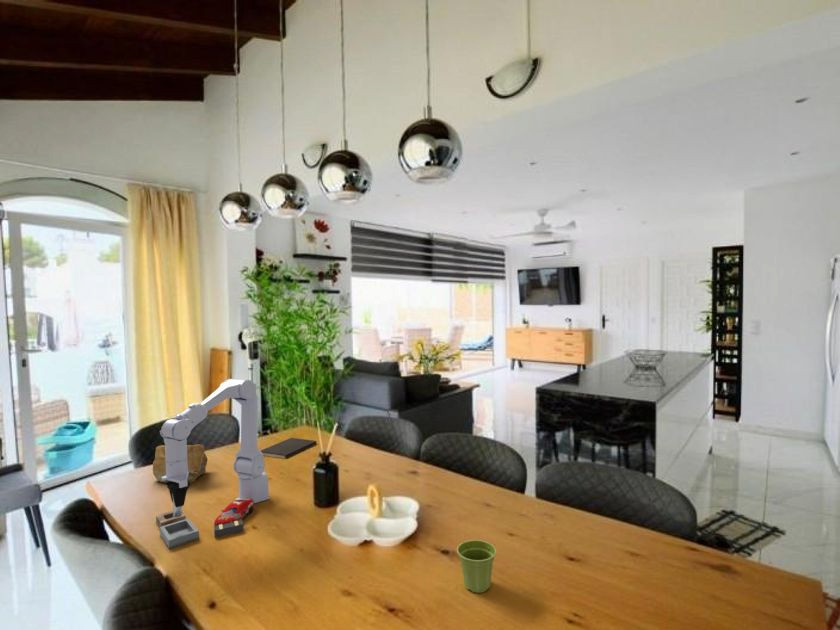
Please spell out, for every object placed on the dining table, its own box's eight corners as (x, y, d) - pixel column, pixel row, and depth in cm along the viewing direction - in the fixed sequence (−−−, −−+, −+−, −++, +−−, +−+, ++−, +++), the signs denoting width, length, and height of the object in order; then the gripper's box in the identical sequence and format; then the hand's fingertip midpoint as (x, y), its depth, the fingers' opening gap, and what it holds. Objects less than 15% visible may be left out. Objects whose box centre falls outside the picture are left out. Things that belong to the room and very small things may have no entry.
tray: (188, 526, 141) (188, 518, 141) (199, 539, 133) (198, 530, 133) (160, 535, 136) (159, 527, 136) (169, 549, 128) (168, 540, 128)
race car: (229, 532, 137) (228, 517, 137) (209, 531, 138) (209, 515, 138) (258, 508, 153) (257, 494, 153) (240, 507, 154) (239, 493, 154)
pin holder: (179, 515, 149) (179, 508, 149) (185, 522, 144) (185, 515, 144) (156, 522, 145) (155, 515, 145) (161, 529, 139) (160, 523, 139)
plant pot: (454, 575, 112) (454, 540, 112) (491, 572, 113) (490, 538, 113) (461, 599, 103) (460, 562, 103) (501, 596, 103) (500, 559, 103)
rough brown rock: (225, 475, 187) (225, 438, 188) (194, 487, 171) (194, 447, 173) (182, 472, 194) (182, 437, 196) (148, 483, 179) (148, 445, 180)
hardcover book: (258, 456, 210) (258, 451, 210) (291, 442, 231) (291, 437, 231) (285, 460, 203) (285, 455, 203) (316, 445, 224) (316, 440, 224)
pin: (181, 512, 137) (181, 489, 136) (184, 515, 134) (184, 492, 134) (170, 515, 135) (170, 492, 134) (173, 518, 132) (173, 495, 132)
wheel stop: (242, 528, 140) (242, 519, 140) (243, 532, 137) (243, 523, 137) (214, 534, 136) (214, 526, 136) (214, 539, 134) (214, 530, 134)
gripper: (156, 457, 137) (157, 501, 137) (167, 469, 126) (169, 516, 126) (181, 451, 142) (182, 494, 142) (194, 462, 131) (196, 508, 131)
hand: (178, 504), depth 134 cm, fingers closed on pin, 3 cm apart
